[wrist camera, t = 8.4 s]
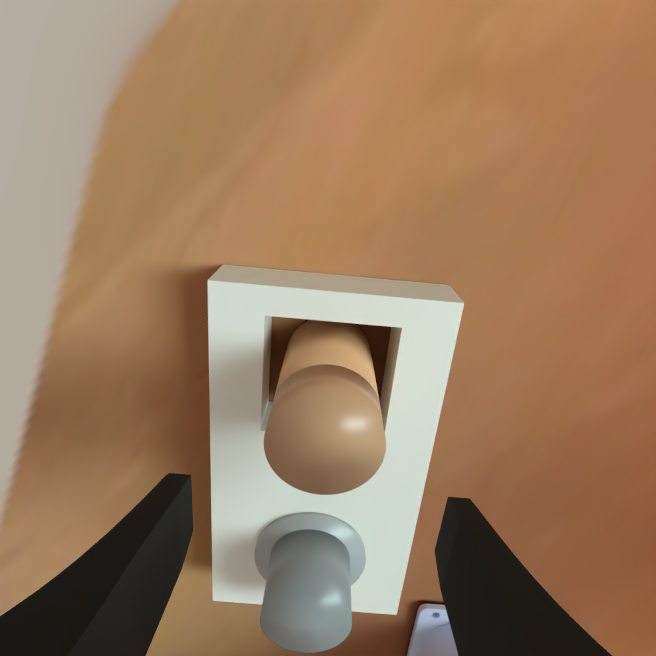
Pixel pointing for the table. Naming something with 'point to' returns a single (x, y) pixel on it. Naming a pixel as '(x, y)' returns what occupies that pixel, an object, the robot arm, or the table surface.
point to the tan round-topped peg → (326, 411)
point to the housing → (306, 508)
